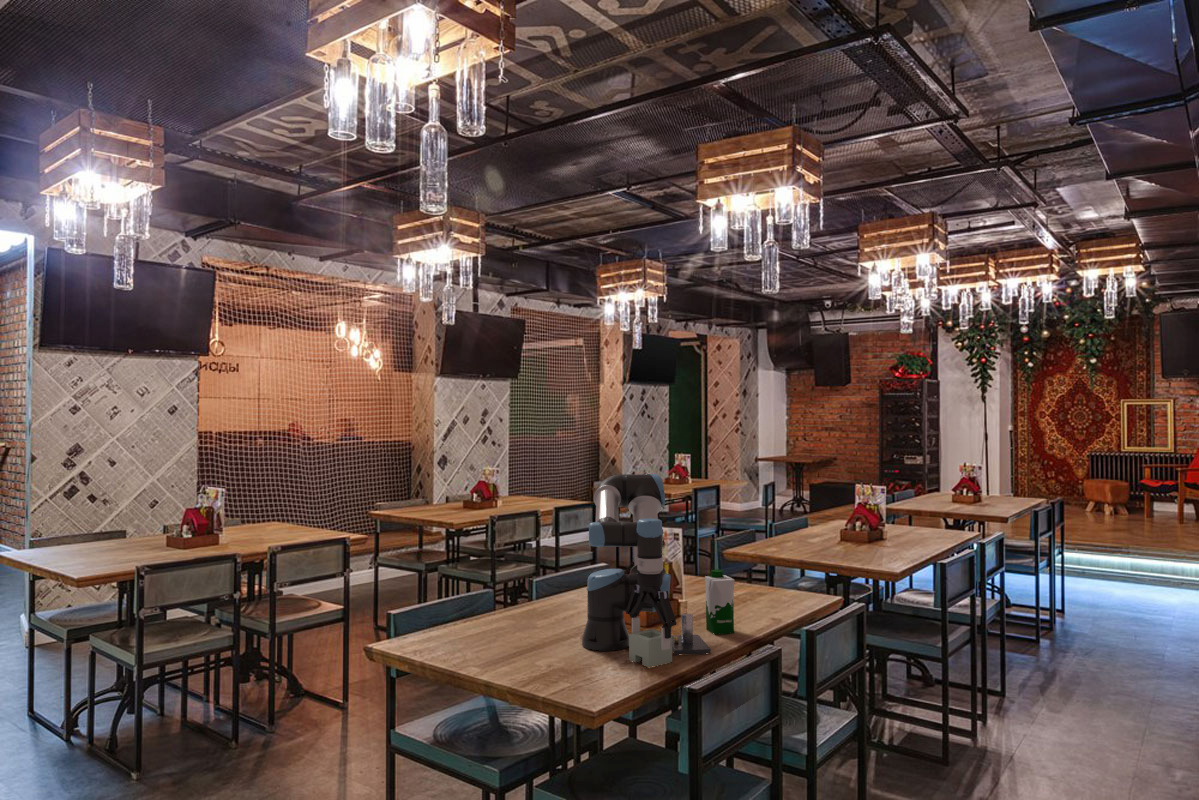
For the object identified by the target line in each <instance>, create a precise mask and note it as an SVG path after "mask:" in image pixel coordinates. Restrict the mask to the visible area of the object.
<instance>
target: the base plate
mask: <svg viewBox="0 0 1199 800" xmlns="http://www.w3.org/2000/svg"><path fill="white" fill-rule="evenodd" d="M693 618H694V616H693V614H692V613H682V614H680V625H681V627H680V629H681V631H680V633H681V634H680V635H679V634H678V635H676V634H675V635H672V653H673V652H674V653H673V654H674V656H680V655H679V654H698V655H707V654H706V653H711V654H712V651H711V650H712V649H711V648H710V647H709V646H708V644H707V643H706V642H705V640H704V639H703V638H702V637H701V636H700V635H699V634H694V633H693V632H694V627H693V626H694V624H693V623H694V619H693Z"/></svg>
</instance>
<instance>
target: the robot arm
mask: <svg viewBox="0 0 1199 800" xmlns="http://www.w3.org/2000/svg"><path fill="white" fill-rule="evenodd" d="M593 502H594V504H595V506H596V507H595V521H594V522H589V524H588V544H589V546H591V547H594V548H595V547H598V548H606V547H607V548H609V547H610V548H614V547H615V548H616V547H617V548H619V547H621V548H622V547H626V548H627V547H629V548H630V547H631V548H632V547H633V556H634V557H633V559H634V561H633V562H634V565H633V567H631V568H630V571H629V573H625V572H624V569H622V568H606V569H602V570H597V571H594V572H592V573H590V575H588V577H587V583H586V584H587V585H586V591H587V606H586V607H587V611H586V612H587V613H586V614H587V621H586V623H585V624H586V625H585V627H584V630H583V634H582V636H581V637H582V638H581V645H583V646H584V647H583V646H582V647H583V648H585V647H586V648H585V649H587V648H588V649H587V650H590V649H592V650H591V651H596V650H599V652H615V651H621V650H624V649H626V648H628V647H629V634H630V633H629V632H628V631H629V630H628V629H627V626H626V622H625V614H626V615H629V617H630V628H631V633H635V632H639V631H641V617H640V616H641V615H640V613H641V612H645V613H647V612H649V613H650V612H652V613H655V612H656V613H657V615H658V618H659V620H660V623H661V624H662V626H661V627H660V628H661V629H660V630H661V650H667V649H670V638H671V635H672V627H674V626H677V620H676V617H675V614H674V610H673V607H672V605H671V604H672V603H671V601H670V590H671V589H670V587H671V574H670V573H666V568H665V567H664V566H663V563H664V562H663V557H664V556H663V533H664V530H663V522H662V520H661V519H659V516H658V514H659V513H660V512H661V510H662V508H663V507H664V506H665V504H666V495H665V486H664V482H663V479H662V477H661V476H660V474H653V473H647V474H637V473H636V474H633V473H632V474H626V473H625V474H623V473H621V474H620V473H619V474H614V475H611V476H608V477H607V478H605V479H603V481H601V482H599V484H597V486H596V487H595V489H594V492H593ZM619 508H628V512H629V513H630V514H631V515H632V521H620V519H619V512H620V511H619ZM620 649H621V650H620ZM614 650H615V651H614Z"/></svg>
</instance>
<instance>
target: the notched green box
mask: <svg viewBox="0 0 1199 800" xmlns="http://www.w3.org/2000/svg"><path fill="white" fill-rule="evenodd" d="M628 634H629V646H628V647H629V648H628V661H629V660H630V661H629V662H631V661H633V662H639V663H641V664H642V665H644V666H647V667H652V666H657V665H661V664H665V663H669V664H671V663H670V662H672V663H673V651H672V636H673V635H672V634H671V638H670V649H667V650H661V631H659V630H658V629H654V628H649V629H645V630H644V629H643V630H640V631H639V632H635V633H632V632H630V633H628ZM641 660H642V661H641ZM640 661H641V662H640ZM633 662H632V663H633ZM642 665H641V666H642ZM665 665H666V664H665ZM661 666H662V665H661ZM657 667H658V666H657Z"/></svg>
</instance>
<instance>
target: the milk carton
mask: <svg viewBox="0 0 1199 800" xmlns="http://www.w3.org/2000/svg"><path fill="white" fill-rule="evenodd" d="M735 581H736V580H735V579H734V578H732V577H730V576H727V575H726V574H724V571H723V569H711V570H710V575H707V576H706V575H705V576H704V584H705V623H706V628H705V629H706V630H707V631H708V630H709V631H708V632H710V633H711V632H712V634H713V633H714V634H715V635H714V634H713V635H714V636H717V635H716V634H719V635H728V634H735V626H734V625H735V624H734V621H735V618H734V615H735V614H734V611H735V610H734V609H735V607H734V605H735V604H734V588H735Z"/></svg>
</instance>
